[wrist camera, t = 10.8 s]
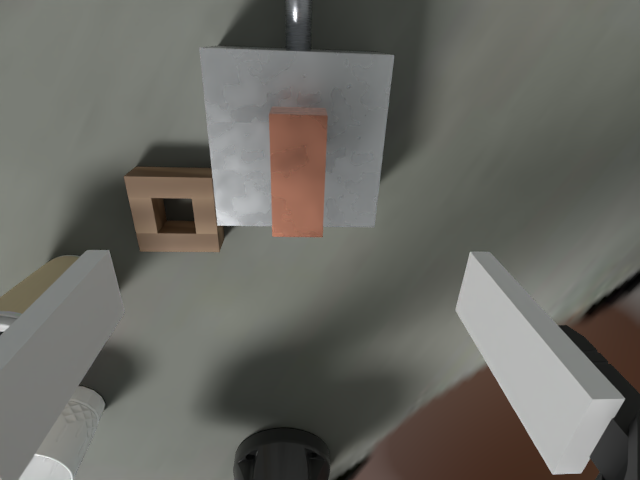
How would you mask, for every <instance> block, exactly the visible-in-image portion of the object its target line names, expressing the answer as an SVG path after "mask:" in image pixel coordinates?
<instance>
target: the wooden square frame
mask: <svg viewBox="0 0 640 480" xmlns="http://www.w3.org/2000/svg"><path fill="white" fill-rule="evenodd" d="M124 180H125V185H126V189H127V194H128V198H129V203H130V208H131V212H132V217H133V221H134V226H135V231H136V235H137V240H138V244H139V249H140V252H220V249H221V246H222V244H223V241H224V229H223V226H217V216H216V206H215V197H214V187H213V177H212V168H181V167H135V168H134V169H132V170H131V171H130V172H129V173H127V174H126V175H125V176H124ZM163 198H188V199H192V205H193V212H194V220H195V221H167V219H166V213H165V207H164V201H163Z"/></svg>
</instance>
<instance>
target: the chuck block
mask: <svg viewBox="0 0 640 480" xmlns="http://www.w3.org/2000/svg"><path fill="white" fill-rule="evenodd" d="M311 20H312V0H286V48H264V47H238V46H210V47H199V50H200V60H201V70H202V79H203V89H204V99H205V109H206V118H207V128H208V138H209V148H210V158H211V167H212V177H213V187H214V197H215V206H216V216H217V226H272V203H271V169H270V134H269V113H270V110H271V108H272V107H305V108H326V112H327V115H328V121H327V145H326V168H325V192H324V216H323V227H375V218H376V209H377V201H378V192H379V184H380V175H381V166H382V158H383V149H384V140H385V132H386V123H387V114H388V106H389V97H390V89H391V80H392V71H393V63H394V55H391V54H386V53H380V52H366V51H340V50H315V49H311Z"/></svg>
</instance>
